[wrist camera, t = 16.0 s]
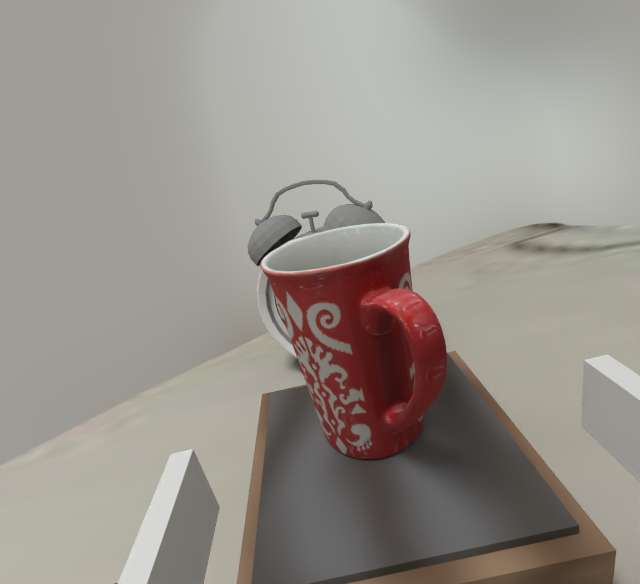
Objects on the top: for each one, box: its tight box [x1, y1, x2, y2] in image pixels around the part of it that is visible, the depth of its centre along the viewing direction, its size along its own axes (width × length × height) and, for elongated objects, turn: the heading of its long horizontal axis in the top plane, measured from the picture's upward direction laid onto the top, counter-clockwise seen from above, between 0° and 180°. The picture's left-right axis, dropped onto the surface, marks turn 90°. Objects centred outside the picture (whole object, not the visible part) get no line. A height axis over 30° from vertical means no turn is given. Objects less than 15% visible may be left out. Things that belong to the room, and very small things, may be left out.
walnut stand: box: [237, 351, 616, 584], centre depth 26 cm, size 18×18×6 cm
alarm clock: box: [248, 180, 385, 358], centre depth 43 cm, size 16×9×22 cm, turn 69°
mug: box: [260, 223, 447, 459], centre depth 23 cm, size 13×9×14 cm
